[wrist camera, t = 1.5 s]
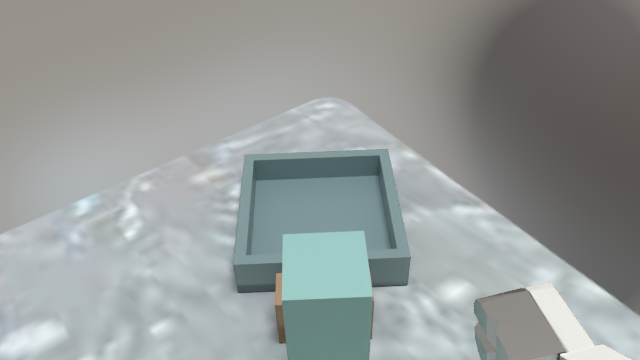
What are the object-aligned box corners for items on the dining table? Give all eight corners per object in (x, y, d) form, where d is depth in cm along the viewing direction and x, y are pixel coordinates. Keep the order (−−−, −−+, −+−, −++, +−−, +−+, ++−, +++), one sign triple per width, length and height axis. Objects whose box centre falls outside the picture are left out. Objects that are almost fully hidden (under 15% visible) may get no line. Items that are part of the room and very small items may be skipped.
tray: (238, 292, 40) (233, 264, 38) (248, 181, 49) (244, 154, 47) (407, 285, 40) (410, 257, 38) (385, 176, 49) (387, 148, 47)
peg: (295, 429, 32) (281, 300, 25) (295, 366, 35) (282, 234, 28) (364, 425, 33) (372, 296, 25) (358, 363, 36) (364, 230, 28)
